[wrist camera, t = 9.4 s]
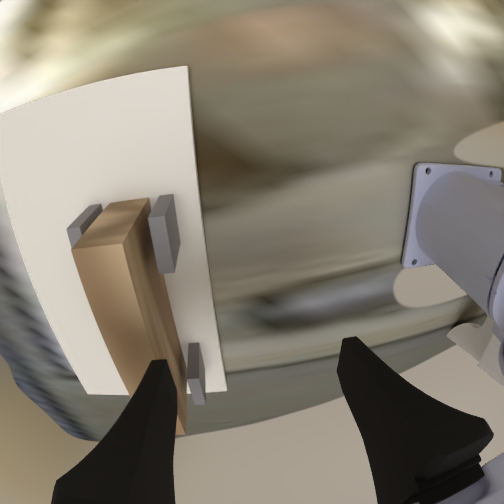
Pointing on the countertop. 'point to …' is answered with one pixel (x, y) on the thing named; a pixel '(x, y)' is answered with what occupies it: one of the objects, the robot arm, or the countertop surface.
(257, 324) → the countertop surface
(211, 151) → the countertop surface
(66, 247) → the board
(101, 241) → the door panel
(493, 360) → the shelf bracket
